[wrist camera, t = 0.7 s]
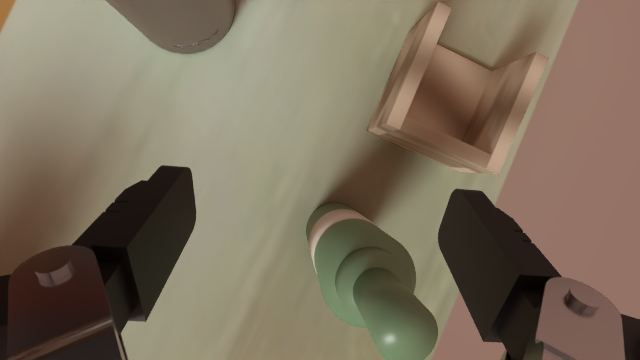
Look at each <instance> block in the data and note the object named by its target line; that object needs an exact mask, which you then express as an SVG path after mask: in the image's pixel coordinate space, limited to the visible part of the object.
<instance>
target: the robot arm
mask: <svg viewBox="0 0 640 360" xmlns="http://www.w3.org/2000/svg"><path fill="white" fill-rule="evenodd" d="M106 1H107V2H108V3H109V4H110V5H111V6H112V7H114V8H115V9H116V10H117V11H118V12H119V13H120V14H121V15H123V16H124V17H125V18H126V19H127V20H128V21H129V22H130V23H131V24H132V25H134V26H135V27H136V28H137V29H138V30H139V31H140V32H142V33H143V34H144V35H145V36H146V37H147V38H148V39H149V40H151V41H152V42H153V43H155V44H156V45H158V46H159V47H161V48H163V49H166V50H168V51H171V52H175V53H181V54H191V53H197V52H201V51H205V50H207V49H209V48H211V47H213V46H214V45H215V44H217V43H218V42H219V41H220V40H221V39H222V38H223V37H224V36H225V34H226V33H227V32H228V30H229V28H230V26H231V24H232V21H233V17H234V13H235V0H106ZM195 221H196V206H195V197H194V189H193V180H192V173H191V170H190V168H188V167H177V166H164V165H163V166H160V167H159V168H158V170H157V171H156V172H155V173H154V174H153V175H152V176H151V177H150V179H149V180H148V181H143V180H141V181H140V182H138V183H136V184H134V185H132V186H130V187H128V188H127V189H125V190H124V191H123V192H122V193H121V194H120V195H119V196H118V197H117V198H116V199H115V202H114V203H112V204H111V205H110V206H109V207H108V208H107V209H106V212H103V213H102V214H101V215H100V216H99V217H98V218H97V219H96V220H95V221H94V222H93V223H92V224H91V225H90V226H89V228H88V229H87V230H86V231H85V232H84V233H83V234H82V235H81V236H80V237H79V238H78V239H77V240H76V241H75V242H74V243H73V244H72V245H69V246H61V247H56V248H52V249H49V250H46V251H43V252H41V253H39V254H37V255H35V256H33V257H31V258H29V259H28V260H26V261H25V262H23V263H22V264H21V265H19V266H18V267H17V268H16V269H15V271H14V272H13V273H12V274H11V275H5V276H0V360H128V356H127V353H126V349H125V346H124V342H123V339H122V336H121V332H122V330H123V328H124V327H125V325H126V323H127V321H144V322H146V320H147V318H148V316H149V314H150V313H151V311H152V309H153V307H154V305H155V303H156V301H157V299H158V297H159V295H160V293H161V291H162V289H163V287H164V285H165V284H166V282H167V280H168V278H169V276H170V274H171V272H172V270H173V268H174V266H175V264H176V262H177V260H178V258H179V256H180V255H181V253H182V251H183V249H184V247H185V245H186V243H187V241H188V239H189V237H190V235H191V233H192V231H193V229H194V226H195ZM438 243H439V247H440V250H441V252H442V254H443V256H444V258H445V260H446V263H447V265H448V267H449V269H450V271H451V273H452V275H453V278H454V280H455V282H456V284H457V286H458V288H459V290H460V293H461V295H462V297H463V299H464V301H465V303H466V305H467V308H468V310H469V312H470V314H471V316H472V318H473V320H474V323H475V325H476V327H477V329H478V331H479V333H480V335H481V337H482V340H483V341H484V342H502V343H503V344H504V346H505V348H506V350H505V352H504V353H503V355H502V357H501V360H640V319H636V318H633V317H629V316H626V315H623V314H620V313H619V311H618V309H617V308H616V307H615V305H614V304H613V303H612V302H611V301H610V300H609V299H608V298H607V297H605V296H604V295H603V294H601V293H600V292H598V291H597V290H595V289H594V288H592V287H590V286H588V285H586V284H584V283H582V282H579V281H577V280H573V279H570V278H565V277H562V276H561V275H560V274H559V273H558V272H557V270H556V269H555V268H554V267H553V266H552V264H551V263H550V262H549V261H548V260H547V259H546V257H545V256H544V255H543V254H542V253H541V251H540V250H539V249H538V248H537V247H536V246H535V244H533V243H531V240H530V239H529V237H528V236H527V235H526V234H525V233H523V230H522V229H521V228H520V227H519V225H518V224H517V223H516V222H515V221H514V219H513V218H511V217H510V216H508V215H507V214H505V213H504V212H503V211H501V210H500V209H498V208H496V207H495V206H494V205H493V204H492V202H491V201H490V200H489V199H488V197H487V196H486V195H485V194H484V193H483V192H482V191H477V190H464V189H455V190H454V191H453V192H452V194H451V196H450V199H449V202H448V205H447V208H446V211H445V213H444V216H443V219H442V222H441V225H440V228H439V233H438Z"/></svg>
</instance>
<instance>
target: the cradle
mask: <svg viewBox="0 0 640 360" xmlns="http://www.w3.org/2000/svg"><path fill="white" fill-rule="evenodd" d="M451 9H452V8H451V7H449V6H447V5H445V4H443V3H441V2H439V1H438V2H437V3H436V5H435V6H434V7H433V8H432V9H431V10H430V11H429V12H428V13H427V14H426V15H425V16H424V17H423V18H422V19H421V20H420V21H419V22H418V23H417V24H416V25H415V26H414V28H413V29H412V30H411V31H410V32H409V33H408V34H407V37H406V39H405V42H404V44H403V46H402V49H401V51H400V53H399V56H398V58H397V60H396V63H395V65H394V67H393V70H392V72H391V74H390V77H389V79H388V81H387V84H386V86H385V89H384V91H383V93H382V96H381V98H380V100H379V103H378V105H377V107H376V110H375V112H374V114H373V117H372V119H371V121H370V124H369V126H368V128H367V131H368V132H371V133H373V134H375V135H377V136H379V137H382V138H384V139H386V140H388V141H391V142H393V143H395V144H397V145H399V146H402V147H404V148H406V149H408V150H411V151H413V152H415V153H417V154H419V155H422V156H424V157H426V158H428V159H431V160H433V161H435V162H437V163H440V164H442V165H444V166H446V167H448V168H451V169H453V170H455V171H457V172H470V173H486V174H499V172H500V170H501V168H502V165H503V163H504V161H505V158H506V156H507V154H508V151H509V149H510V147H511V145H512V142H513V140H514V138H515V135H516V133H517V131H518V128H519V126H520V124H521V121H522V119H523V117H524V114H525V112H526V110H527V107H528V105H529V103H530V101H531V98H532V96H533V94H534V91H535V89H536V87H537V84H538V82H539V80H540V77H541V75H542V73H543V70H544V68H545V66H546V63H547V61H548V59H549V58H548V57H546V56H544V55H542V54H540V53H538V52H535V53H533V54H530V55H528V56H526V57H523V58H521V59H519V60H517V61H514V62H512V63H510V64H507V65H505V66H503V67H500V68H498V69H496V70H494V71H490V70H488V69H486V68H484V67H482V66H480V65H478V64H476V63H474V62H472V61H470V60H468V59H466V58H464V57H462V56H460V55H458V54H456V53H454V52H452V51H450V50H448V49H446V48H444V47H442V46H440V45H438V44H437V42H438V39H439V37H440V35H441V32H442V30H443V27H444V25H445V23H446V20H447V18H448V16H449V13H450V11H451Z"/></svg>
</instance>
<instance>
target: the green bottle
mask: <svg viewBox="0 0 640 360" xmlns="http://www.w3.org/2000/svg"><path fill="white" fill-rule="evenodd" d="M306 235H307V239H308V243H309V248H310V252H311V256H312V260H313V264H314V267H315V270H316V273H317V276H318V279H319V283H320V287H321V290H322V294H323V297H324V300H325V302H326V304H327V306H328V307H329V309H330V310H331V312H332V313H333V314H334V315H335V316H336V317H338V318H339V319H340V320H342V321H343V322H345V323H347V324H349V325H352V326H356V327H362V328H368V330H369V332H370V335H371V337H372V339H373V341H374V343H375V345H376V347H377V349H378V351H379V353H380V354H381V355H382V356H383V358H385V359H386V360H423V359H425V358H426V357H427V356H428V355H429V354H430V353H431V351H432V350H433V348H434V346H435V344H436V341H437V336H438V328H437V323H436V320H435V318H434V316H433V315H432V313H431V312H430V311H429V310H428V309H427V308H426V307H425V306H424V305H423V304H422V303H421V302H420V301H419V300H418V299H417V298H416V296H415V295H414V294H413V293H414V290H415V285H416V272H415V267H414V263H413V261H412V258H411V256H410V255H409V253H408V251H407V250H406V249H405V248H404V247H403V246H402V245H401V244H400V243H399V242H398V241H396V240H395V239H394V238H392V237H391V236H389V235H388V234H387V233H385V232H384V231H382V230H381V229H380V228H379V227H378V226H377V225H375V224H374V223H372V222H371V221H370V220H368V219H367V218H365V217H364V216H363V215H361V214H360V213H358V212H356V211H355V210H353V209H352V208H350V207H349V206H347V205H345V204H342V203H327V204H324V205H322V206H320V207H319V208H317V209H316V210H315V211H314V212H313V213H312V215H311V216H310V218H309V220H308V223H307V228H306Z"/></svg>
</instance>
